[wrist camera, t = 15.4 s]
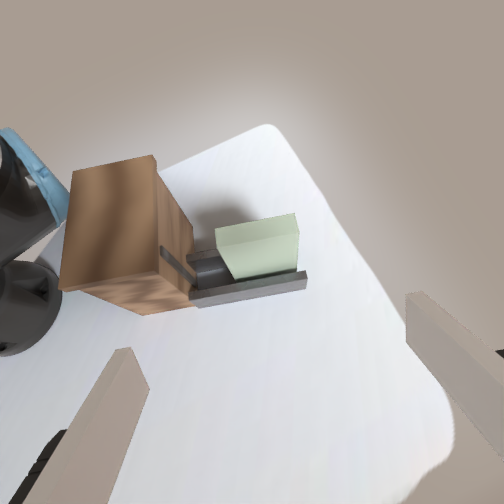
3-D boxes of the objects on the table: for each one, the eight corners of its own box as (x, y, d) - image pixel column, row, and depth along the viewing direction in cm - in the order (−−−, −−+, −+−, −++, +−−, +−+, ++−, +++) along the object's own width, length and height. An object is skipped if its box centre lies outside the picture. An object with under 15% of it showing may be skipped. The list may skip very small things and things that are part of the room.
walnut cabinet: (139, 319, 45) (57, 289, 29) (139, 234, 51) (72, 171, 35) (202, 307, 44) (154, 270, 28) (195, 223, 50) (152, 154, 34)
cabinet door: (239, 286, 45) (216, 247, 31) (236, 267, 46) (214, 222, 32) (296, 276, 44) (299, 232, 31) (291, 257, 46) (293, 206, 32)
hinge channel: (199, 308, 44) (188, 300, 40) (195, 266, 47) (185, 254, 42) (305, 288, 43) (307, 278, 39) (295, 247, 46) (296, 233, 42)
